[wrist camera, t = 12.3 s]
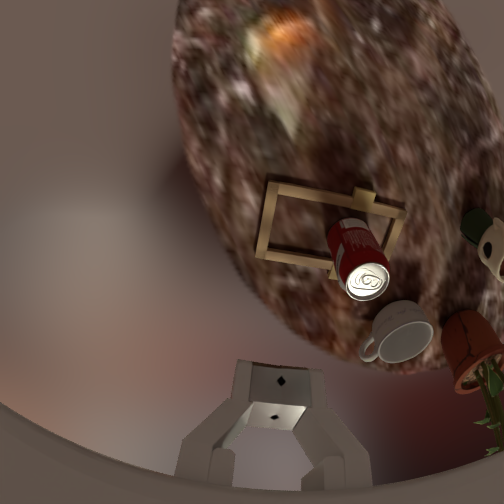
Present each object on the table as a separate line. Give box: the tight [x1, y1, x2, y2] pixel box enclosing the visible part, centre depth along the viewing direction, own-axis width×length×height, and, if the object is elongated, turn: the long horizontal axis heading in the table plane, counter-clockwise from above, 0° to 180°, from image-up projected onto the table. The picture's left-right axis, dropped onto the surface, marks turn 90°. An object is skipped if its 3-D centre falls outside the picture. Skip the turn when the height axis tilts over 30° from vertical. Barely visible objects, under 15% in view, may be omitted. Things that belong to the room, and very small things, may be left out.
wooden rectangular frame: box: [255, 180, 407, 280], centre depth 42 cm, size 15×21×1 cm
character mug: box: [460, 208, 504, 283], centre depth 34 cm, size 11×7×13 cm, turn 32°
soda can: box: [327, 217, 390, 301], centre depth 38 cm, size 7×7×12 cm
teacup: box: [359, 300, 433, 363], centre depth 47 cm, size 14×11×8 cm
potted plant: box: [441, 309, 504, 456], centre depth 34 cm, size 17×16×35 cm
